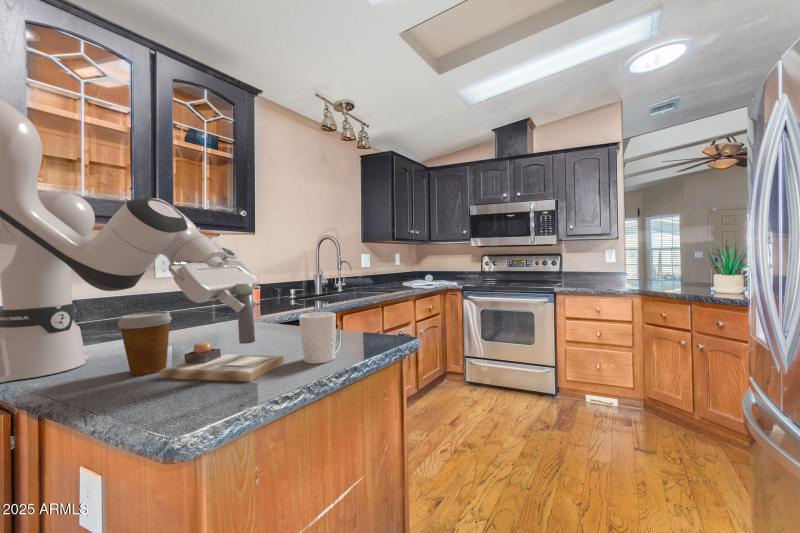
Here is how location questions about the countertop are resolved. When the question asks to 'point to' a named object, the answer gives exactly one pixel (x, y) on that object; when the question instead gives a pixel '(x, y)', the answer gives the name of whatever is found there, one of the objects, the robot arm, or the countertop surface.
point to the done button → (202, 348)
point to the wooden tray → (222, 366)
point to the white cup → (318, 336)
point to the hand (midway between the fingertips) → (248, 307)
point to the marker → (246, 313)
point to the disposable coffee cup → (146, 341)
